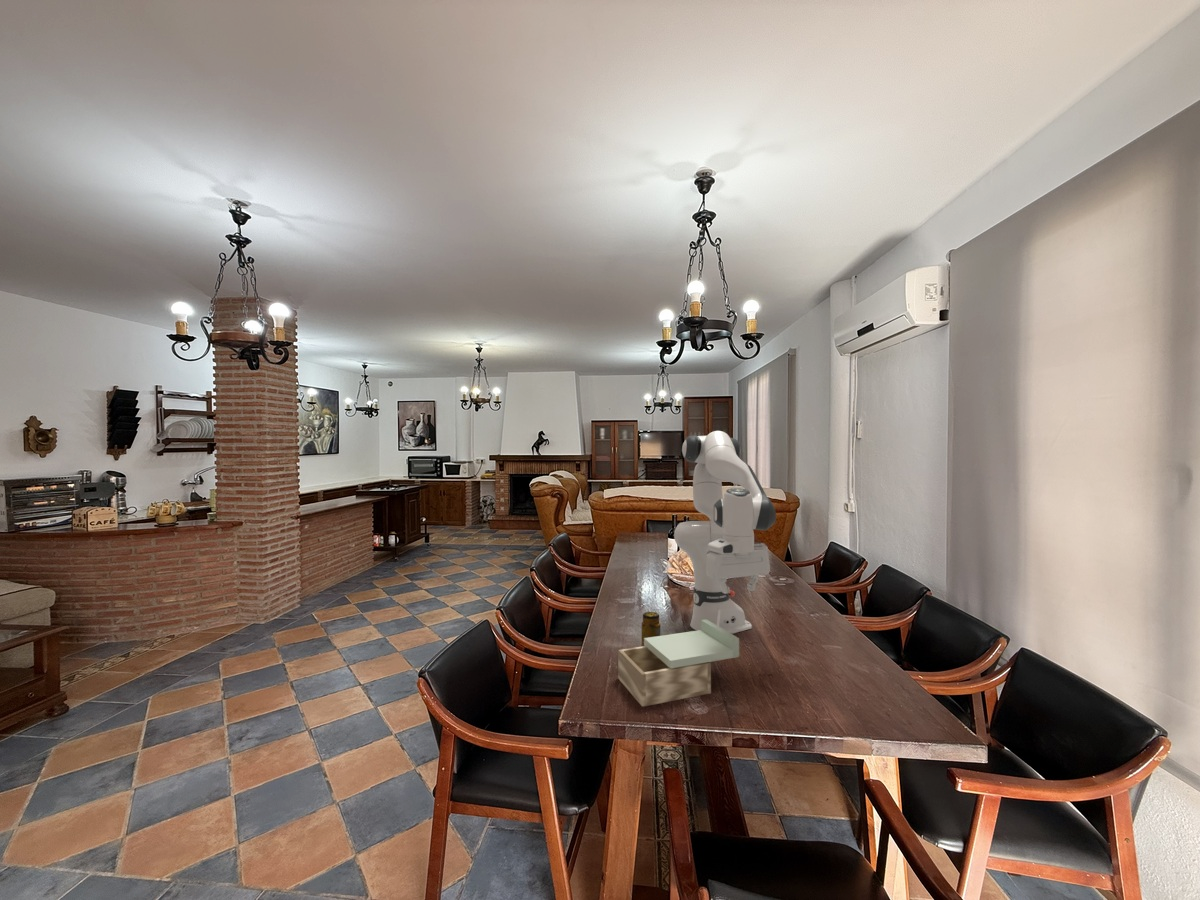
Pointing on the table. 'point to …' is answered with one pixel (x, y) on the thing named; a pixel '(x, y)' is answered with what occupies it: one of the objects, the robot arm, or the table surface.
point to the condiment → (650, 625)
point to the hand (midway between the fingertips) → (738, 591)
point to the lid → (694, 646)
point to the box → (660, 677)
